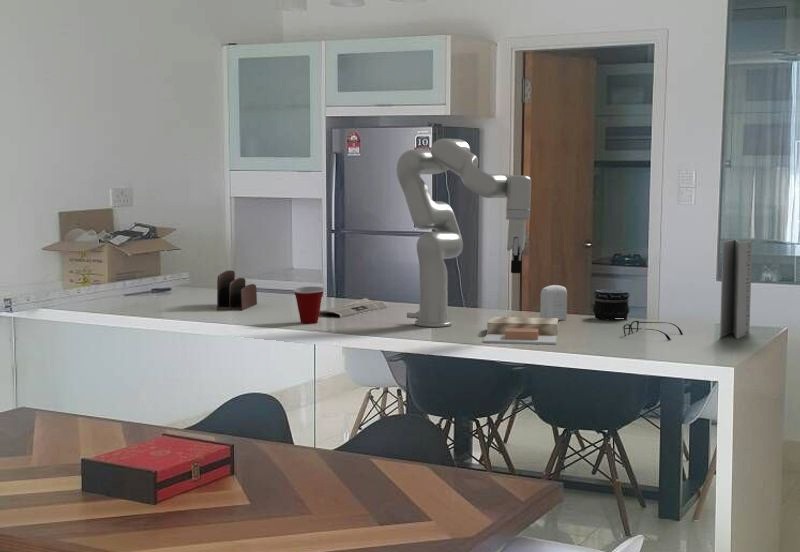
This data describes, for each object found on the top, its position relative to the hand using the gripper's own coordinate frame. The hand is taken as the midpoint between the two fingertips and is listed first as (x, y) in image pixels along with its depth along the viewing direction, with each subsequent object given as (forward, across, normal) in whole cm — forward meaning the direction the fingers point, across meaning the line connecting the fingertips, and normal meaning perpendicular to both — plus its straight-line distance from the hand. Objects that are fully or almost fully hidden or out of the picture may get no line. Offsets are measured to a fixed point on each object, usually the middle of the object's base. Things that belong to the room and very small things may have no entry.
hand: (516, 272), depth 338 cm
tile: (+18, +9, +3) cm, 20 cm away
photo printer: (+20, -37, +11) cm, 44 cm away
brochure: (+19, -13, +69) cm, 73 cm away
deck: (+20, -6, +2) cm, 21 cm away
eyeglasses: (+20, -8, +44) cm, 48 cm away
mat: (+20, +10, +3) cm, 22 cm away
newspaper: (+23, -48, -64) cm, 83 cm away
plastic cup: (+22, -15, -72) cm, 77 cm away
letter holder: (+24, -52, -110) cm, 124 cm away
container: (+20, -45, +31) cm, 58 cm away
